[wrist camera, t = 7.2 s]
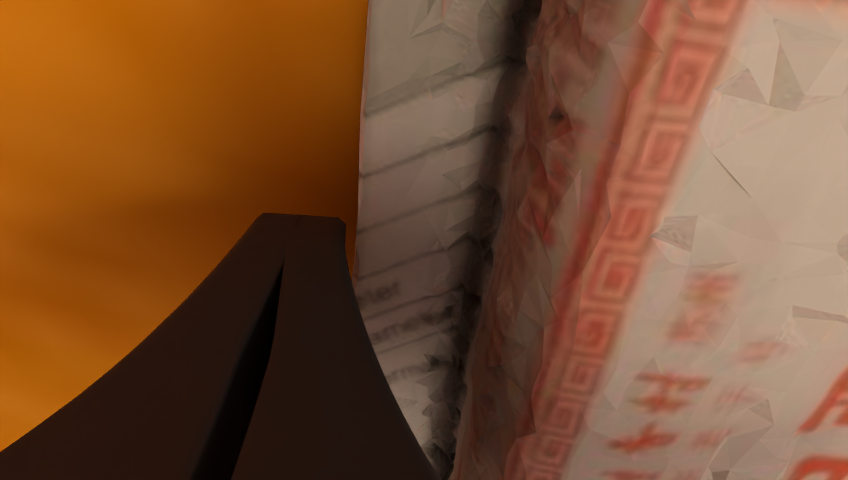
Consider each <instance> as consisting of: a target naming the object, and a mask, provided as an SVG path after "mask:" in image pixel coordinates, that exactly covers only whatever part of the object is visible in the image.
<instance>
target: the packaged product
mask: <svg viewBox="0 0 848 480" xmlns="http://www.w3.org/2000/svg"><path fill="white" fill-rule="evenodd" d="M352 285H353V289H354V292H355V296H356V299H357V302H358V306H359V309H360V312H361V316H362V319H363V322H364V325H365V327H366V330H367V333H368V336H369V338H370V341H371V343H372V346H373V349H374V351H375V354H376V356H377V359H378V361H379V364H380V366H381V368H382V371H383V373H384V375H385V377H386V380H387V382H388V384H389V386H390V388H391V390H392V393H393V395H394V397H395V399H396V401H397V403H398V405H399V407H400V409H401V411H402V413H403V415H404V417H405V419H406V420H407V422H408V424H409V426H410V428H411V430H412V432H413V434H414V435H415V437H416V439H417V441H418V443H419V445H420V446H421V448H422V450H423V452H424V453H425V455H426V456H427V458H428V460H429V461H430V463H431V465H432V466H433V468H434V470H435V471H436V473H437V474H438V476H439V478H440V479H441V480H848V0H369V4H368V17H367V31H366V45H365V58H364V72H363V85H362V99H361V112H360V147H359V188H358V219H357V230H356V241H355V252H354V263H353V274H352Z"/></svg>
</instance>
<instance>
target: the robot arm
mask: <svg viewBox="0 0 848 480" xmlns="http://www.w3.org/2000/svg"><path fill="white" fill-rule="evenodd" d="M345 238H346V224H345V223H344V222H343V221H342V220H341V219H340V218H339V217H326V216H310V215H293V214H277V213H263V214H261V215H260V216H259V217H258V218H256V220H255V221H254V222H253V224H252V225H251V226H250V227H249V229H248V230H247V231H246V232H245V233H244V235H243V236H242V237H241V238H240V240H239V241H238V242H237V243H236V244H235V246H234V247H233V248H232V249H231V250H230V251H229V253H228V254H227V255H226V256H225V257H224V258H223V259H222V261H221V262H220V263H219V264H218V265H217V266H216V267H215V269H214V270H213V271H212V272H211V273H210V274H209V275H208V276H207V277H206V278H205V279H204V280H203V281H202V283H201V284H200V285H199V286H198V287H197V288H196V289H195V290H194V291H193V292H192V293H191V294H190V295H189V296H188V298H187V299H186V300H185V301H184V302H183V303H182V304H181V305H180V306H179V307H178V308H177V309H176V310H175V311H174V312H173V313H171V314H170V315H169V316H168V317H167V318H166V319H165V320H164V321H163V322H162V323H161V324H160V325H159V326H158V327H157V328H156V329H155V330H154V331H153V332H152V333H151V334H149V335H148V336H147V337H146V338H145V339H144V340H143V341H142V342H141V343H140V344H139V345H138V346H137V347H136V348H134V349H133V350H132V351H131V352H130V353H129V354H128V355H126V356H125V357H124V358H123V359H122V360H121V361H120V362H118V363H117V364H116V365H115V366H114V367H113V368H111V369H110V370H109V371H108V372H107V373H105V374H104V375H103V376H102V377H101V378H99V379H98V380H97V381H96V382H94V383H93V384H92V385H91V386H89V387H88V388H87V389H86V390H84V391H83V392H82V393H81V394H79V395H78V396H77V397H76V398H74V399H73V400H72V401H70V402H69V403H68V404H66V405H65V406H64V407H62V408H61V409H59V410H58V411H57V412H55V413H54V414H53V415H51V416H50V417H49V418H47V419H46V420H45V421H43V422H42V423H41V424H39V425H38V426H36V427H35V428H34V429H32V430H31V431H29V432H28V433H27V434H25V435H24V436H22V437H21V438H20V439H18V440H17V441H15V442H14V443H12V444H11V445H10V446H8V447H7V448H5V449H4V450H3V451H1V452H0V480H441V479H440V478H439V476H438V474H437V473H436V471H435V470H434V468H433V466H432V465H431V463H430V461H429V460H428V458H427V456H426V455H425V453H424V452H423V450H422V448H421V446H420V445H419V443H418V441H417V439H416V437H415V435H414V434H413V432H412V430H411V428H410V426H409V424H408V422H407V420H406V419H405V417H404V415H403V413H402V411H401V409H400V407H399V405H398V403H397V401H396V399H395V397H394V395H393V393H392V390H391V388H390V386H389V384H388V382H387V380H386V377H385V375H384V373H383V371H382V368H381V366H380V364H379V361H378V359H377V356H376V354H375V351H374V349H373V346H372V343H371V341H370V338H369V336H368V333H367V330H366V327H365V325H364V322H363V319H362V316H361V312H360V309H359V306H358V302H357V299H356V296H355V292H354V289H353V285H352V281H351V277H350V273H349V268H348V263H347V257H346V250H345Z"/></svg>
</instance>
